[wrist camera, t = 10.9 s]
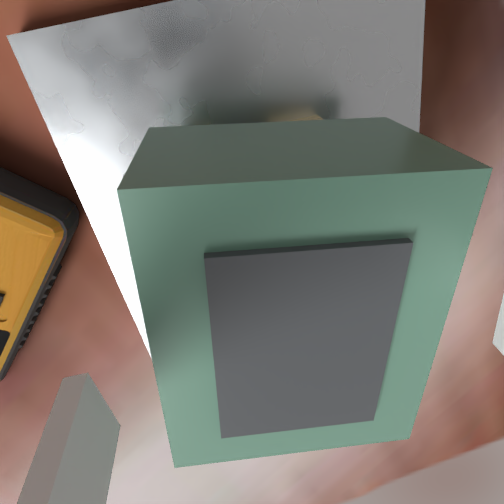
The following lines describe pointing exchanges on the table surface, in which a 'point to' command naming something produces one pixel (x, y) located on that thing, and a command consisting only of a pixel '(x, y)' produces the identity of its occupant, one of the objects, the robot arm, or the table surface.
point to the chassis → (211, 82)
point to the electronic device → (28, 255)
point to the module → (294, 278)
